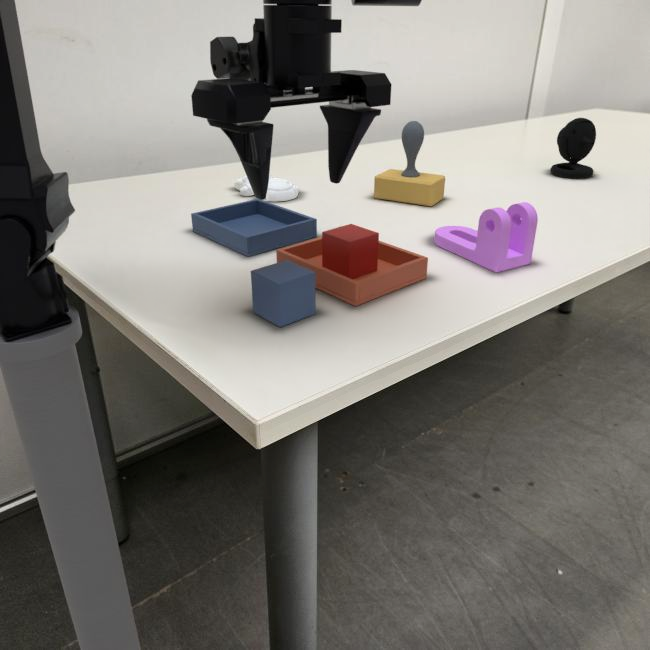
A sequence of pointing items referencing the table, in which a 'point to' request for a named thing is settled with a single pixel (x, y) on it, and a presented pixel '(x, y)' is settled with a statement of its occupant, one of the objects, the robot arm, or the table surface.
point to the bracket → (494, 238)
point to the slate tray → (254, 226)
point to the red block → (350, 250)
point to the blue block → (283, 292)
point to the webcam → (575, 148)
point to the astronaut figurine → (270, 189)
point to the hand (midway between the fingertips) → (299, 190)
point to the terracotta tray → (390, 276)
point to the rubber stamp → (410, 175)
